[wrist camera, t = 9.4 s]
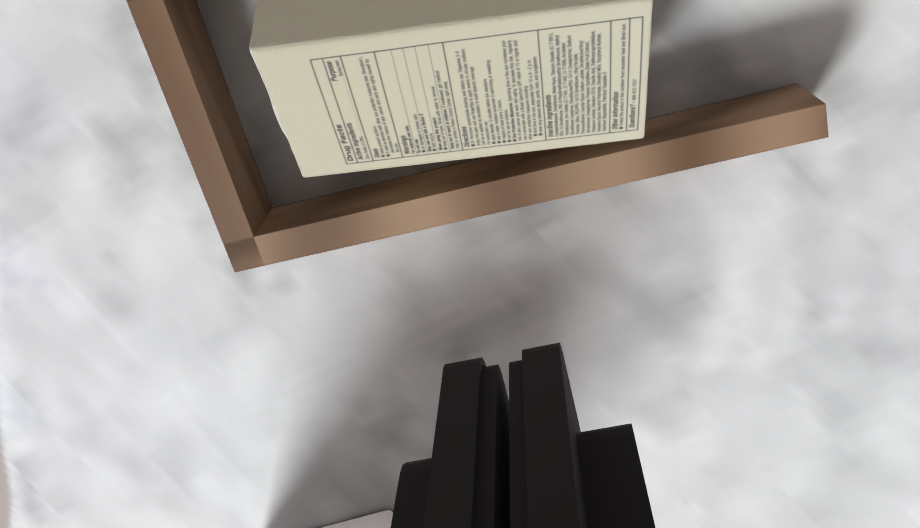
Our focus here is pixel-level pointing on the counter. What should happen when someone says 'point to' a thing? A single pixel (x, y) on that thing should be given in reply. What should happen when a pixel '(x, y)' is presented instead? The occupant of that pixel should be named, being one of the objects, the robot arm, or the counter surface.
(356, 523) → the milk carton
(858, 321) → the counter surface
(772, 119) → the walnut rest
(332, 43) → the skincare box
